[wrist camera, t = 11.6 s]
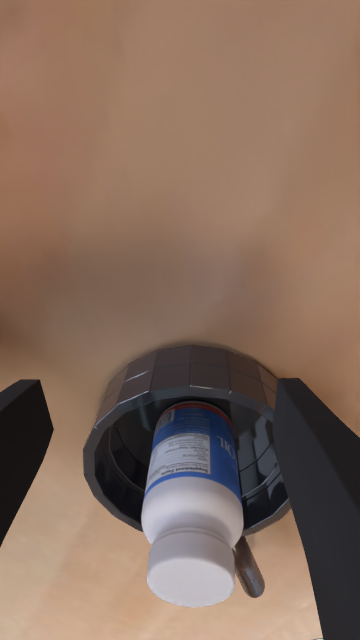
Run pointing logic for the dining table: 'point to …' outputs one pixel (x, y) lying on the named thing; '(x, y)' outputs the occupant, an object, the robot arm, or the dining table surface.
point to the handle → (247, 569)
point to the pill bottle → (192, 506)
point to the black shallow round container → (171, 388)
